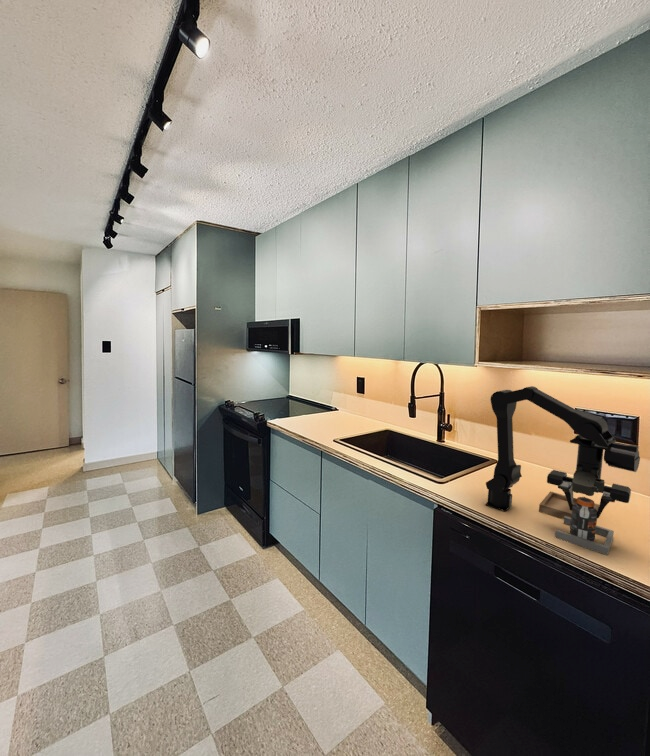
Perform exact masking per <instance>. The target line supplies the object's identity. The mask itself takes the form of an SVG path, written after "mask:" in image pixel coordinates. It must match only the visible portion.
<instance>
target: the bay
mask: <svg viewBox="0 0 650 756" xmlns="http://www.w3.org/2000/svg"><path fill="white" fill-rule="evenodd" d="M570 523H571V518H570V517H566V516H564V519H563V525H564V524H565V525H568V526H570ZM614 532H615V530H613V529H609V528H606V527H603V526H600V525H596V533H595V535H600V536H603V537H606V538H605V541H604V544H603V543H598V542H595V541H590V540H587V539H584V538H581V537H578V536H575V535H572V534H570V532H569V533H568V532H565V531H562V530H559V529H555V532H554V538H555V537H556V538H555V539H559V540H561V539H562V540H561V541H564V540H565V541H564V542H567V541H568V543H570V544H573V545H575V546H579V547H582V548H585V549H588V550H590V551H594V552H597V553H599V554H602V555H605V556H608V554H609V552H610V548H611V545H612V542H613V539H614V534H615V533H614Z"/></svg>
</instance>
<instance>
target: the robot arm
mask: <svg viewBox="0 0 650 756" xmlns="http://www.w3.org/2000/svg"><path fill="white" fill-rule="evenodd" d="M522 401H528V402H530V403H532V404H534V405H535V406H537V407H539V408H541V409H543V410H545V412H546V411H547V412H548V413H550V414H552V415H553V416H555V417H557V418H558V419H560V420H562V421H564V422H565V423H566V424H567V425H568V426H569V427H570V428H571V429H572V430H573V431H574V432H575V433H577V435H576V436H575V437H574V438H572V439H569V442H570V443H571V444H576V445H578V446H577V456H576V466H575V471H574V473H573V476H572V477H570V476H568V474H567V472H565V471H561V470H555V469H553V470H551V471H550V472H548V474H547V477H546V483H547V484H549V485H553V486H557V488H558V489H559V490H561V491H562V492H563V494H564V495H565V496H566V498H567V501H568V505H569V508H570V510H572V506H573V498H574V493H576V494H582V495H585V496H587V497H588V496H589V497H593V496H594V494H595V493H597V494H598V493H600V494H602V496H601V497H600V501H599V508H598V512H597V519H599V518H600V517H601V514H602V513H603V511H604V509H605V508H606V507H607V506H608V504H609V503H615V502H621V503H623V504H629V503H630V498H631V496H632V495H631V493H632V489H631V488H630V487H629V486H626V485H621V484H617V483H612V485H611V486H610V485H609V486H608V485H605V484H606V483H605V479H602V469H603V461H604V462H605V464H606V465H607V466H608V467H611V468H616V469H620V470H625V471H628V472H634V473H636V472H638V469H639V466H640V461H641V457H640V450H639V445H636V444H625V443H621V442H617V440H616V438H615V437H614V435H613V434H612V433H611V432H610V431H609V426H608V423H607V421H606V420H605V419H604V418H603V417H600V416H598V415H596V414H592V413H590V412H586V411H582V410H578V409H576V408H574V407H572V406H570V405H568V404H566V403H564V402H562V401H560V400H558V399H556V398H555V397H553V396H552V395H549V394H547V393H546V392H544V391H542V390H540V389H538V388H537V387H536V386H532V385H531V386H526V387H524V388H521V389H516V390H511V389H503V390H497V391H495V392H493V393H492V394H491V396H490V405H491V409H492V412H493V413H494V416H495V417H496V433H497V434H496V439H497V461H496V464H495V467H494V470H493V477H492V478H491V479H490V480H488V481H486V482H485V485H486V489H487V491H488V493H487V502H486V503H485V506H488V507H490V508H493V509H496V510H500V511H503V512H507V510H509V509H510V508H511V507H512V506H513V505H512V504H513V494H512V489H511V488H513V486H514V485H516V484H518V482H519V481H520V478H522V477H523V476H522V473H521V472H522V471H521V469H522V465H521V464H517V463H516V461H515V457H514V453H515V452H514V432H513V431H514V429H513V427H514V426H513V425H514V424H513V416H514V414H515V412H516V408H517V402H518V403H519V402H522Z"/></svg>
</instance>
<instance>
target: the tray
mask: <svg viewBox="0 0 650 756" xmlns="http://www.w3.org/2000/svg"><path fill="white" fill-rule="evenodd" d="M577 498H578V497H573V505H574V504H575V503H577ZM599 505H600V503H595V502H594V508H595V509H596V510H597V512H598V508H599ZM538 506H539V507H538V512H539V513H541V514H542V513H543V514H546V515H549V516H552V517H555V518H559V519H562V520H564V516H566V517H570V518H571V514H572V510H570V508H569V505H568V501H567V498H566V496H565V494H563V493H562V494H561V493H558V492H554V491H549V492H547V495H546V496H545V497H544V499H542V500H541V502H540V503H539V505H538Z"/></svg>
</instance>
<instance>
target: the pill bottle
mask: <svg viewBox="0 0 650 756" xmlns="http://www.w3.org/2000/svg"><path fill="white" fill-rule="evenodd" d="M576 498H577V503H575V504H574V505H573V506H572V514H571V523H570V525H569V534H572V535H575V536H578V537H581V538H584V539H587V540H590V541H593V542H595V540H596V526H597V520H598V518H597V510H596V509H595V508H594V503H595V500H594V499H591V498H588V497H584V496H578V497H576Z"/></svg>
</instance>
